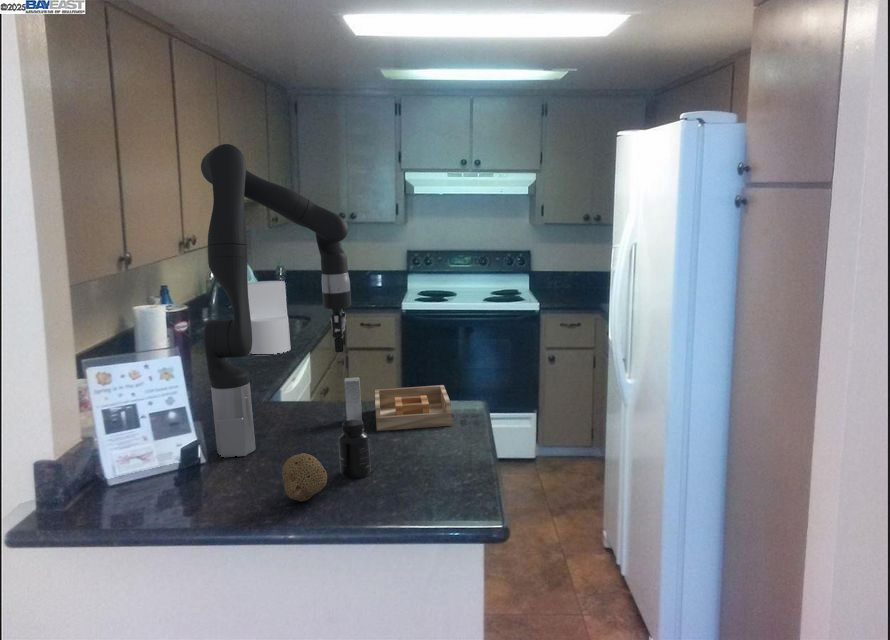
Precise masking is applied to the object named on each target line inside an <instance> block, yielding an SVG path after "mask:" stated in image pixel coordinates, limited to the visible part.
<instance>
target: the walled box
mask: <svg viewBox="0 0 890 640" xmlns="http://www.w3.org/2000/svg"><path fill="white" fill-rule="evenodd" d="M374 399H375V400H374V401H375V405H374V406H375V421H376V431H377V432H381V431H395V430H396V431H398V430H408V429H421V428H422V429H423V428H433V427H436V428H437V427H449V426H450V427H451V426H453V422H452V421H453V417H452V415H453V414H452V406H451V405H452V404H451V400H450V398H449V395H448V393H447V390H446V387H445V385H444V384H440V385H439V384H438V385H426V386H424V385H423V386H412V387H410V386H409V387H396V388H382V389H381V388H380V389H374Z"/></svg>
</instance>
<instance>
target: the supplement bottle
mask: <svg viewBox="0 0 890 640" xmlns="http://www.w3.org/2000/svg"><path fill="white" fill-rule="evenodd" d="M341 431H342V434H340V436H339V437H338V454H339V455H338V456H339V470H340V475H341V476H342V477H343V478H344V479H349V480H350V479H351V480H355V479H356V480H357V479H362V478H365V477H367V476H369V475H370V473H371V470H372V468H371V467H372V465H371V450H370V449H371V448H370V437H369V434H368V433H366V432H365V425H364V421H363V420H362V421H361V420H348V421H347V420H345V421H343V422H342V423H341Z"/></svg>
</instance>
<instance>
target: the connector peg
mask: <svg viewBox="0 0 890 640" xmlns="http://www.w3.org/2000/svg"><path fill="white" fill-rule="evenodd" d="M360 379H361V378H360V377H345V378H344V394H345V397H344V398H345V409H346V410H345V411H346V421H348V420H361V421H363V413H362V398H361V382H360Z"/></svg>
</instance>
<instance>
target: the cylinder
mask: <svg viewBox="0 0 890 640" xmlns="http://www.w3.org/2000/svg"><path fill="white" fill-rule="evenodd" d="M286 295H287V294H286V282H285V281H284V280H262V281H253V282H248V299H249V309H250V318H251V327H252V348H251V352H250V353H252V354H274V355H278V354H277V353H280V354H283V352H284V353H287V351H288V352H290V351H291V349H292V347H291V336H290V323H289V316H288V308H287V307H288V304H287V296H286Z"/></svg>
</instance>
